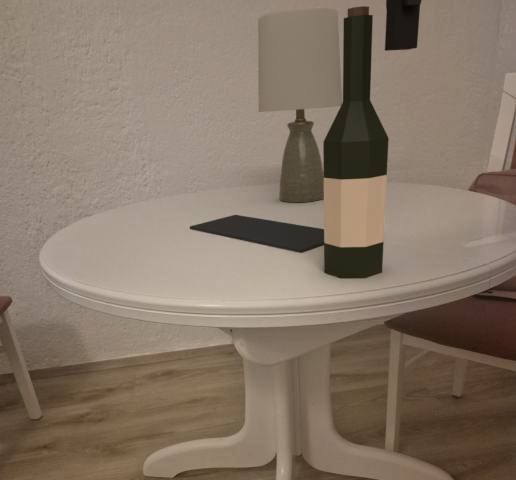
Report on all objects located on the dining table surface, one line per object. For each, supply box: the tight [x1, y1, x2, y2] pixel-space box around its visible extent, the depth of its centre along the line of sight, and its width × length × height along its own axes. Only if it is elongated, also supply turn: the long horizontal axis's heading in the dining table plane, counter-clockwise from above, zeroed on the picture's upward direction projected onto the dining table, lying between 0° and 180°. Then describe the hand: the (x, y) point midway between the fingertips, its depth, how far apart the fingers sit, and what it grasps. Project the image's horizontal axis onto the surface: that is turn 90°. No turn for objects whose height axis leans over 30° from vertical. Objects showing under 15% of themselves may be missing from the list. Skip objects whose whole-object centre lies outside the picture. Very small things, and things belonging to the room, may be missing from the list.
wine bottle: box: [322, 5, 389, 279], centre depth 60 cm, size 8×8×30 cm
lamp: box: [257, 7, 343, 203], centre depth 108 cm, size 19×19×37 cm
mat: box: [189, 214, 324, 253], centre depth 89 cm, size 30×12×1 cm, turn 43°
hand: (400, 49), depth 48 cm, fingers closed
